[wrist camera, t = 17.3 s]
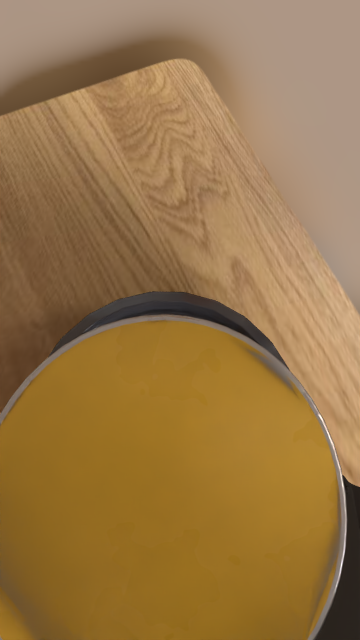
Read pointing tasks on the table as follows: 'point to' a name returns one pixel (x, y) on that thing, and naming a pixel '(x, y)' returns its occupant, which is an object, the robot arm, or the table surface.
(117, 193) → the table surface
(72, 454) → the corn can
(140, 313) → the pan
